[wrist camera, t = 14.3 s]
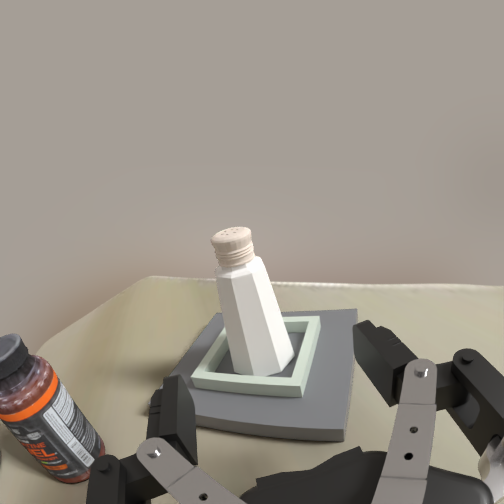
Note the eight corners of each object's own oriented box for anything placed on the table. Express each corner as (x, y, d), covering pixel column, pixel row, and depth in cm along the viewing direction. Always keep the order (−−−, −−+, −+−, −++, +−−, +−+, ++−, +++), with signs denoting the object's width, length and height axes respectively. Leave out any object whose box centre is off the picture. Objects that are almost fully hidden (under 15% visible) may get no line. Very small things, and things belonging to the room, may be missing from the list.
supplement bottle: (43, 481, 15) (-47, 374, 11) (62, 433, 21) (-7, 329, 17) (100, 490, 15) (0, 373, 11) (115, 433, 21) (44, 319, 17)
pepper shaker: (240, 339, 28) (208, 225, 25) (298, 336, 27) (275, 215, 23) (222, 379, 23) (178, 251, 20) (290, 380, 22) (259, 240, 18)
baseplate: (155, 415, 22) (141, 393, 22) (220, 324, 35) (213, 303, 34) (344, 441, 17) (343, 418, 16) (357, 321, 29) (356, 297, 28)
